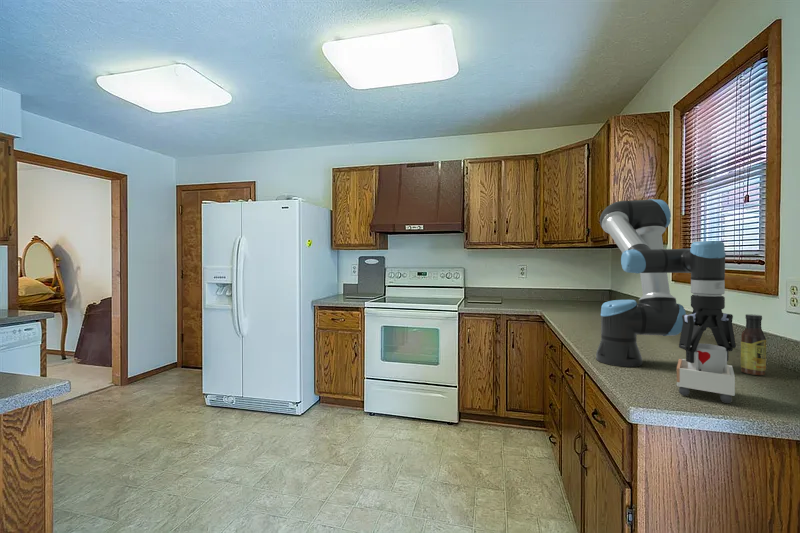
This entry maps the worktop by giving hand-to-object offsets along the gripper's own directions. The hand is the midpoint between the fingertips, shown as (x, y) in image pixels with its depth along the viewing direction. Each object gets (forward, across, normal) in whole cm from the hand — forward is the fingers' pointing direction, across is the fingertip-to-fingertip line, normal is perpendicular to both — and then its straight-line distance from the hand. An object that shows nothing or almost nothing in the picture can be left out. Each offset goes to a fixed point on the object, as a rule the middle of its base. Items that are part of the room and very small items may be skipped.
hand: (707, 372), depth 106 cm
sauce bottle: (+6, +32, +15) cm, 36 cm away
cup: (+2, 0, 0) cm, 2 cm away
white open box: (+6, 0, 0) cm, 6 cm away
